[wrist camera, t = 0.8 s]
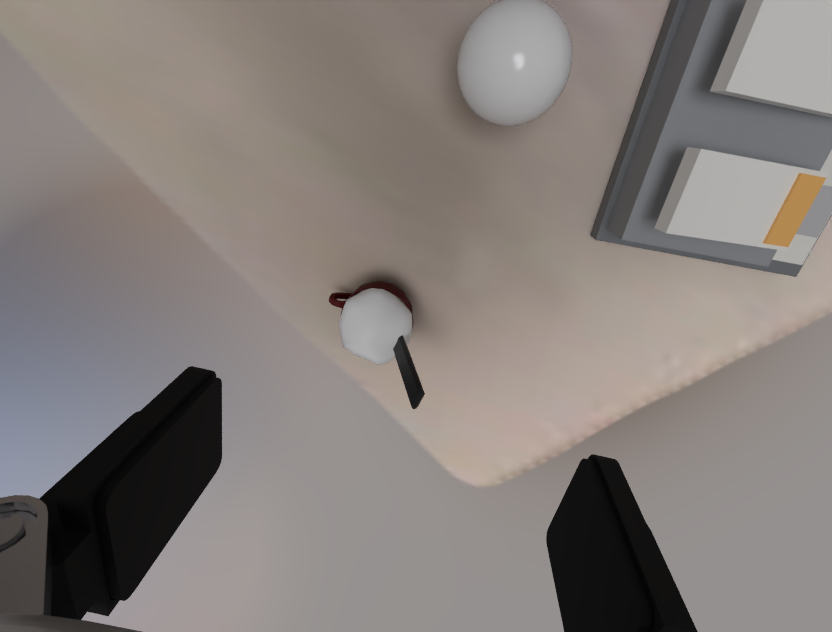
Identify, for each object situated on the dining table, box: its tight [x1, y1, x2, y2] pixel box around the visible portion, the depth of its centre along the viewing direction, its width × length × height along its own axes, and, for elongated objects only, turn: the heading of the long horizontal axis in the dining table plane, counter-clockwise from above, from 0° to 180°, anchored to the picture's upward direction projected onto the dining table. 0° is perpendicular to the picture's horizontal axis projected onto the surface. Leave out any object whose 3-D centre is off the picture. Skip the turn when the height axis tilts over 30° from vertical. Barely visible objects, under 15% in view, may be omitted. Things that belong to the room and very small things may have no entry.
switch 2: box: [655, 147, 828, 251], centre depth 27 cm, size 5×9×1 cm, turn 81°
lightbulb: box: [457, 0, 572, 126], centre depth 27 cm, size 6×6×11 cm
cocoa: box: [329, 281, 425, 409], centre depth 35 cm, size 10×6×12 cm, turn 45°
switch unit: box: [591, 0, 832, 277], centre depth 28 cm, size 26×16×5 cm, turn 171°
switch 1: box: [710, 0, 832, 118], centre depth 24 cm, size 5×9×1 cm, turn 81°
